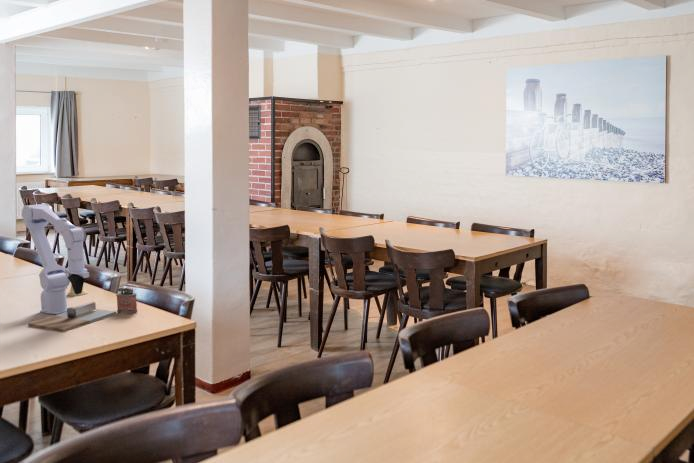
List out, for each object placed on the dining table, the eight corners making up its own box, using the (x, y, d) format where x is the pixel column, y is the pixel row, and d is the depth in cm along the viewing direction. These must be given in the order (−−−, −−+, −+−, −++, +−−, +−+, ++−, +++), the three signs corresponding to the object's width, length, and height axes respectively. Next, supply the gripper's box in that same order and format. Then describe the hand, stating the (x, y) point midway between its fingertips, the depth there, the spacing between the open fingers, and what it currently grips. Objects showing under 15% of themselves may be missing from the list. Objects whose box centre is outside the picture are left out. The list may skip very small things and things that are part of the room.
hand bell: (83, 296, 302) (80, 260, 299) (64, 296, 302) (61, 260, 299) (90, 291, 310) (88, 256, 308) (72, 291, 310) (69, 256, 308)
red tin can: (138, 311, 275) (137, 286, 273) (135, 313, 271) (134, 288, 270) (119, 310, 276) (117, 286, 274) (115, 313, 272) (114, 288, 271)
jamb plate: (28, 326, 255) (28, 323, 255) (54, 318, 266) (54, 315, 266) (64, 331, 247) (64, 329, 247) (89, 323, 258) (89, 320, 258)
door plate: (54, 318, 266) (54, 315, 266) (82, 309, 278) (81, 306, 278) (89, 323, 258) (89, 320, 258) (116, 314, 271) (116, 311, 271)
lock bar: (71, 318, 260) (70, 309, 259) (65, 317, 261) (65, 308, 261) (97, 310, 271) (96, 301, 271) (91, 309, 273) (91, 301, 272)
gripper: (95, 259, 263) (97, 294, 265) (76, 255, 272) (78, 289, 274) (78, 262, 257) (80, 297, 259) (58, 258, 266) (61, 292, 268)
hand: (78, 293), depth 266 cm, fingers closed
